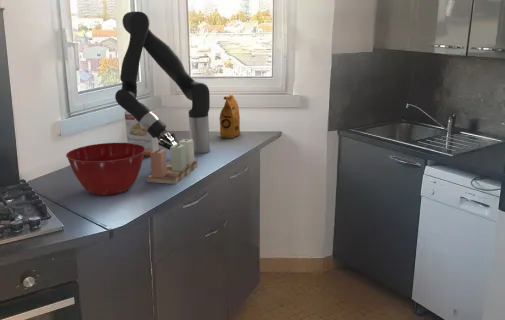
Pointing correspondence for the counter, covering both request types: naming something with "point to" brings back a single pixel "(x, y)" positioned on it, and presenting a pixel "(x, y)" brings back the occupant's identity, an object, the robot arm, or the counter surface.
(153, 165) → the key
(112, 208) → the counter surface
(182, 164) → the grey green block
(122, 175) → the mixing bowl
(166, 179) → the board
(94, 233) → the counter surface
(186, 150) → the grey rectangular block
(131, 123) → the cracker box
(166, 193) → the counter surface
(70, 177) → the counter surface
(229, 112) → the coffee package
